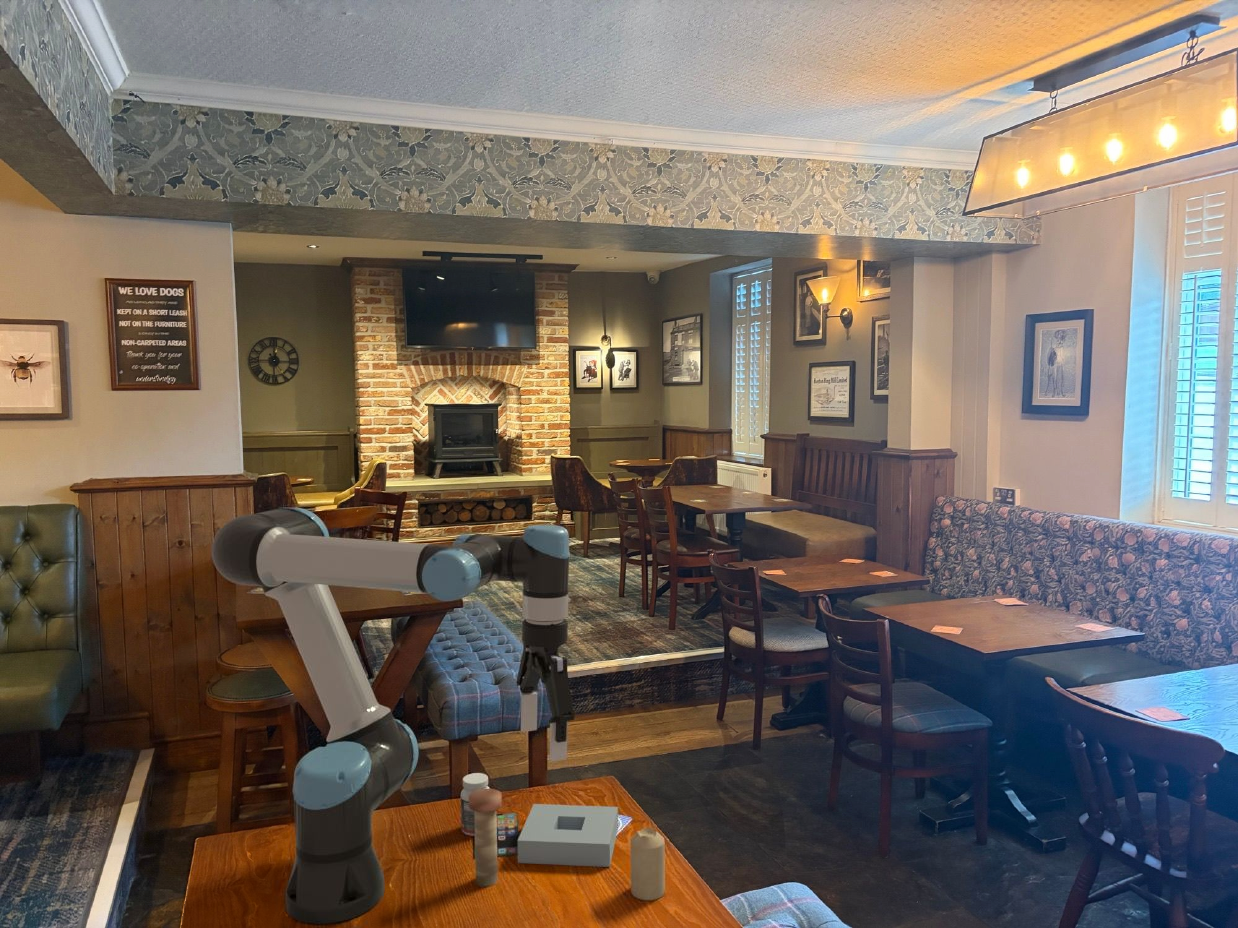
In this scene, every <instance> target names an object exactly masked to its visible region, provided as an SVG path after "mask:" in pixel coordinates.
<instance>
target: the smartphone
mask: <svg viewBox="0 0 1238 928" xmlns="http://www.w3.org/2000/svg"><path fill="white" fill-rule="evenodd" d="M496 820H497V858H500V857H513V856H518V838H519V836H520V832H519V831H520V830H519V829H520V828H519V815H518V812H511V813H510V812H509V813H496ZM473 850H474V851H473V853H474V854H473V855H474V856H473V858H474V859H473V860H475V844H474V849H473Z"/></svg>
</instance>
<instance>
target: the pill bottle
mask: <svg viewBox="0 0 1238 928" xmlns="http://www.w3.org/2000/svg"><path fill="white" fill-rule="evenodd" d="M488 785H489V777H488V775H487V774H485V773H482V772H473V773H469V774H466V775H465V776H463V778H462V787H463V789H462V790H461V791H460V818H461V819H460V820H461V821H460V822H461V823H460V825H461V826H460V828H461V831H462V832H463V834H465V835H467V836H469V837H471V836H472V837H475V819H474V811H473V810H471V809H470V808H469V795H470V794H471V793H472V792H474V791H476V790H480V789H491V788H490V787H489V786H488Z"/></svg>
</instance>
